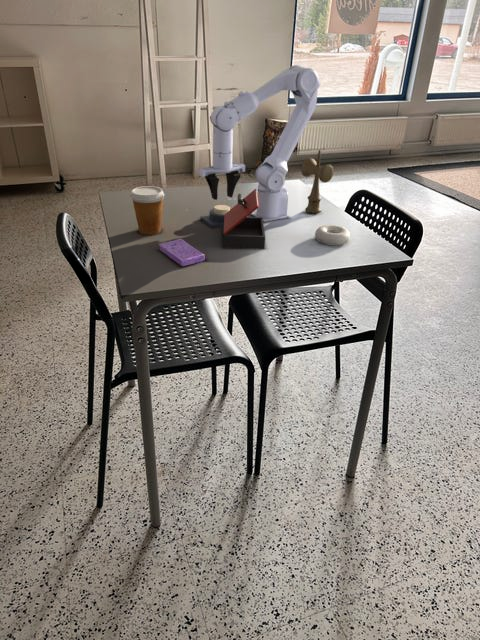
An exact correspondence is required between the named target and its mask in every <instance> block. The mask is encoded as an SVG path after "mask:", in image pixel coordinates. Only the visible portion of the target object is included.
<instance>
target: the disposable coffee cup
mask: <svg viewBox="0 0 480 640" xmlns="http://www.w3.org/2000/svg"><path fill="white" fill-rule="evenodd" d="M164 197H165V193H164V191H163V189H162V188H161V187H158V186H154V185H142V186H137V187H135V188H133V189H132V190H131V192H130V198H131V201H132V203H133V209H134V214H135V218H136V222H137V228H138V232H139V233H140V234H141V235H147V236H149V235H151V236H152V235H157V234H159V233H161V231H162V220H163V219H162V218H163V205H164V204H163V203H164Z"/></svg>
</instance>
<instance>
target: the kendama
mask: <svg viewBox="0 0 480 640" xmlns="http://www.w3.org/2000/svg"><path fill="white" fill-rule="evenodd" d="M321 152H322V151H321V150H320V149H319V150H318V152H317V157H316V158H317V159H316V160H315V158H313V157H308V158H306V159H304V160H303V161H302V164H301V168H300V171H301V175H302V176H303V177H305V178H306V177H307V178H309V177H312V176H313V175H314V178H313V183H312V186H311V191H310V194H309V195H308V196H307V197H306V198H307V200H308V201H307V202H308V203H307V206H306V207H305V208H304V210H305V212H306V213H308V214H320V213H321V212H322V209H321V207H320V202H321V200H322V197H321V195H320V182H322V183H328V182H330V181H331V180H332V179H333V176H334V166H333V165H332V164H325V165H323V166H321V155H322V153H321Z"/></svg>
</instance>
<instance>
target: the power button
mask: <svg viewBox="0 0 480 640" xmlns="http://www.w3.org/2000/svg"><path fill="white" fill-rule="evenodd" d="M213 209H214V213H215V214H219V215H225V214H226V213H227V212H228V211H229V210H230V209H231V207H230V206H229V205H227V204H217V205H215V206H214V208H213Z"/></svg>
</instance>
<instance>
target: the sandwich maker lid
mask: <svg viewBox="0 0 480 640" xmlns="http://www.w3.org/2000/svg"><path fill="white" fill-rule="evenodd" d="M257 192H258V189H257V188H254V189H253V190H252V191H251V192H250V193H248V194H247V195H246V196H244V195H243V193H238V194H237V203H236V204H235V205H234V206H233V207H232V208H230V209H231V210H229V211H228V212H227V213H226V214H225V216H224V226H223V236H224V235H226V234H227V233H228V232H229V231H231V230H232V229H233V228H234V227H235V226H237V225H238V224H239V223H240V222H242V221H243V220H244V219H245V218H246V217H250V216H251V213H253V212H256V211H257V208H259V205H258V197H257Z"/></svg>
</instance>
